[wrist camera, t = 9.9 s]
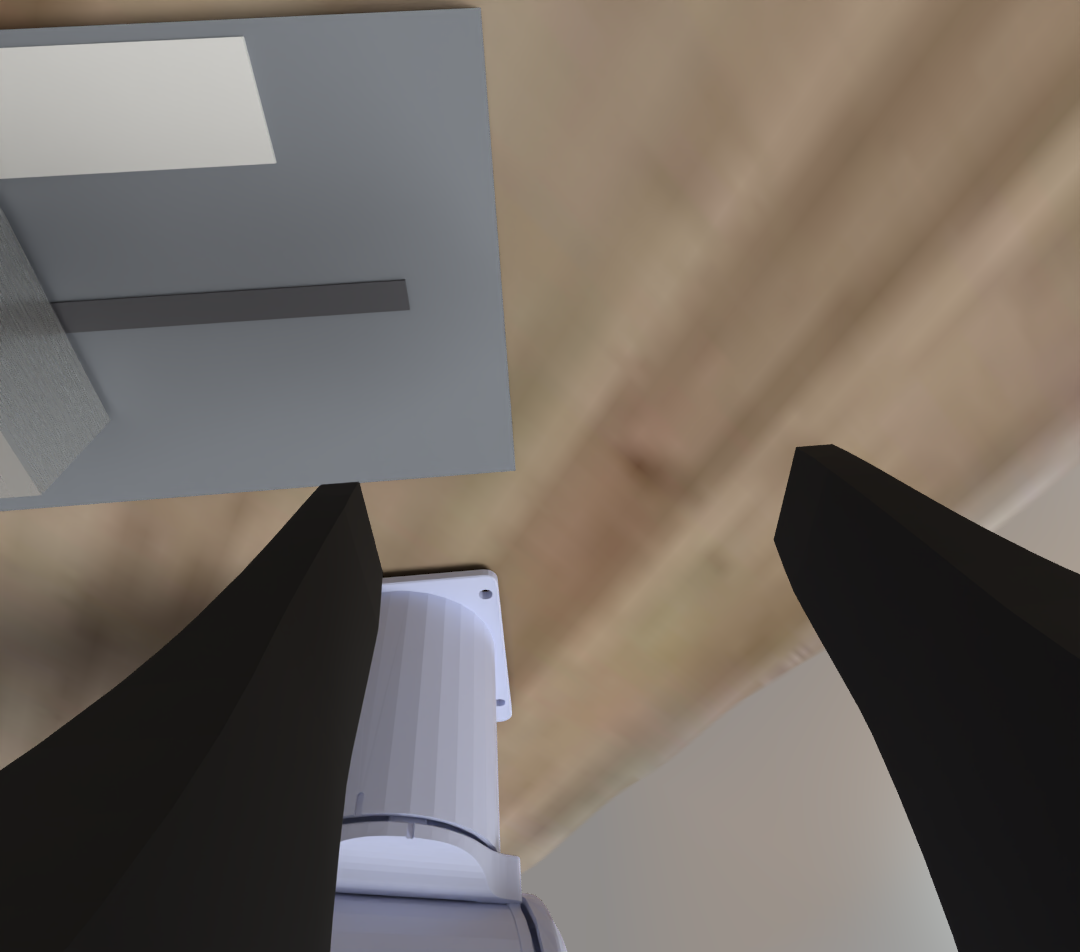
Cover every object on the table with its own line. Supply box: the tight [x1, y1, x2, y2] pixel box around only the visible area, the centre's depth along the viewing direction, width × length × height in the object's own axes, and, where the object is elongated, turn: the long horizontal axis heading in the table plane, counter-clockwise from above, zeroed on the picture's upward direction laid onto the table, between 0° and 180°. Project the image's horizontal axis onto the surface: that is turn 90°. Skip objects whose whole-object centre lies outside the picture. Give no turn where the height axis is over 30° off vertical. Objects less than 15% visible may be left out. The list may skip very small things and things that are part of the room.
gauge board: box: [0, 8, 515, 511], centre depth 15 cm, size 12×24×5 cm, turn 92°
